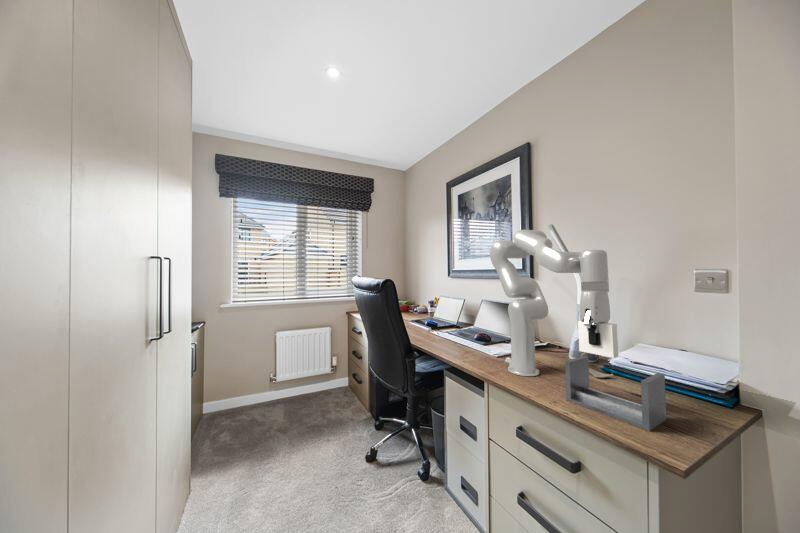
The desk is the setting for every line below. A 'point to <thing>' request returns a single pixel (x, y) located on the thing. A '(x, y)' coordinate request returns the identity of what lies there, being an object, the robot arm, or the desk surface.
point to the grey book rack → (616, 407)
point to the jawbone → (596, 373)
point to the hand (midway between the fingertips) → (597, 343)
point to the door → (606, 339)
